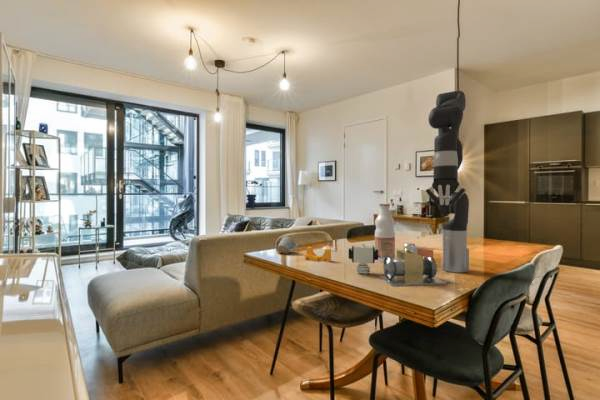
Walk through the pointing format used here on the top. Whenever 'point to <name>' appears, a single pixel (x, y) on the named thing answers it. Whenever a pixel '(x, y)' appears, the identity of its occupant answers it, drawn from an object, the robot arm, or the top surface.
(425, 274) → the valve body
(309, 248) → the pipe clamp
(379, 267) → the top surface
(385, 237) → the fruit juice
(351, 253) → the pneumatic valve
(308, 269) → the top surface
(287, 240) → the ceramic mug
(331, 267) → the top surface
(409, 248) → the lever
